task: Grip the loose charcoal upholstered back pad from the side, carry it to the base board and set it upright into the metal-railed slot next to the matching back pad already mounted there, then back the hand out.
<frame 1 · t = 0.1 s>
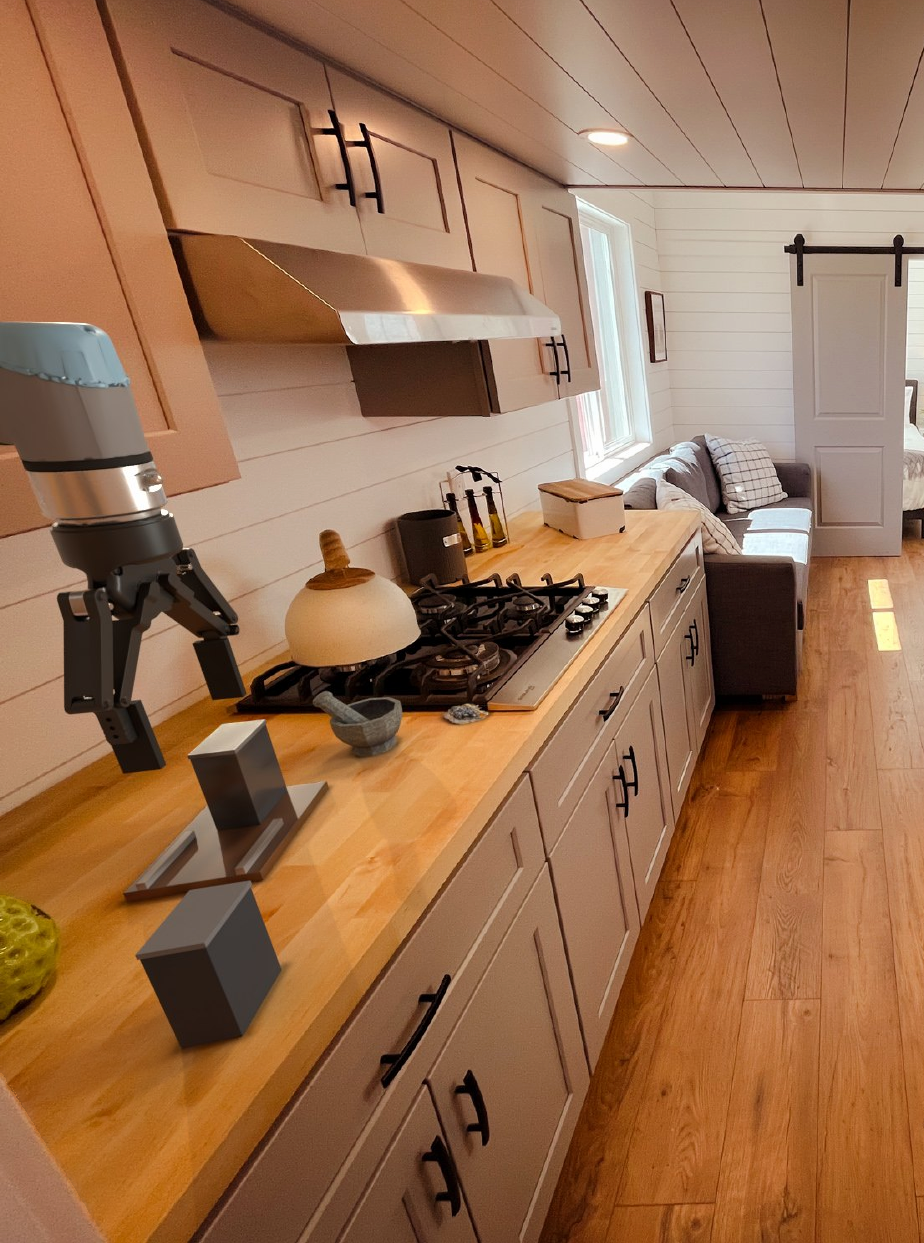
hand: (191, 730, 67), 29 cm above the table, tool pointing down, fingers open, 13 cm apart
pad base: (239, 839, 94), on the table
loose pad: (234, 1007, 71), on the table
mortar and pestle: (371, 749, 116), on the table
blueberries: (468, 716, 126), on the table
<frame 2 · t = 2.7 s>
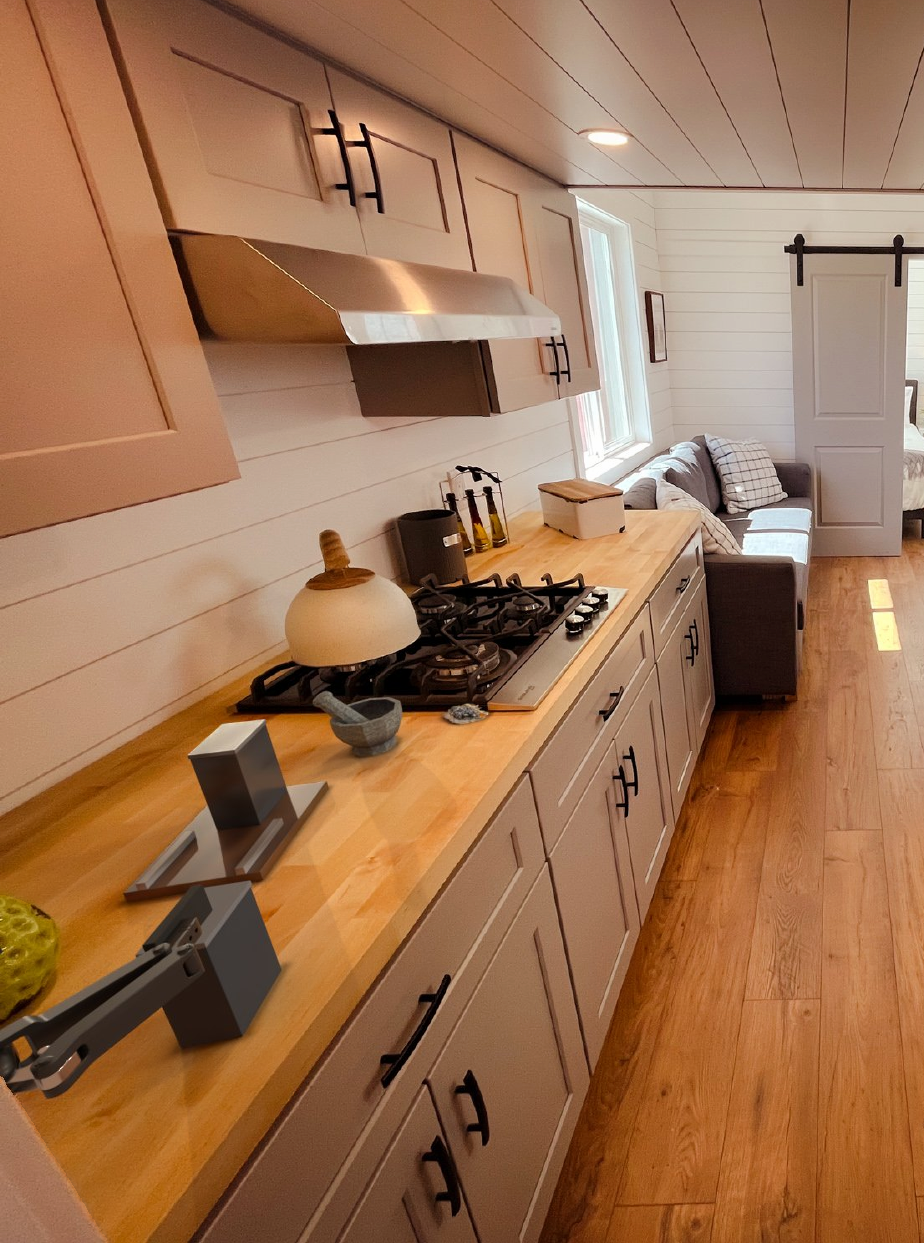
hand: (99, 917, 56), 20 cm above the table, tool horizontal, fingers open, 13 cm apart
nothing on the table moved.
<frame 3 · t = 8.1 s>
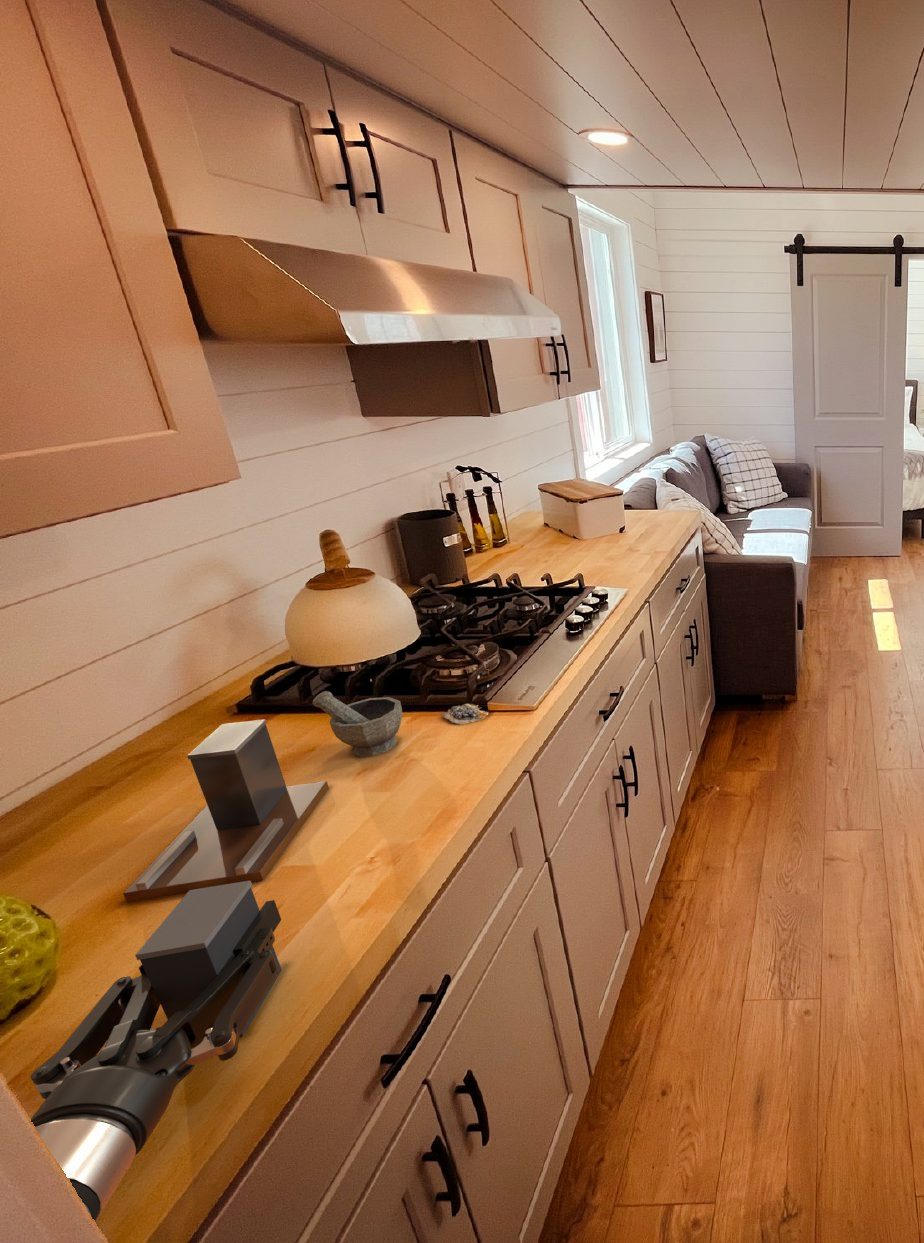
hand: (241, 916, 73), 7 cm above the table, tool horizontal, fingers closed on loose pad, 5 cm apart
loose pad: (234, 1007, 71), on the table, touching gripper
everything else where it was.
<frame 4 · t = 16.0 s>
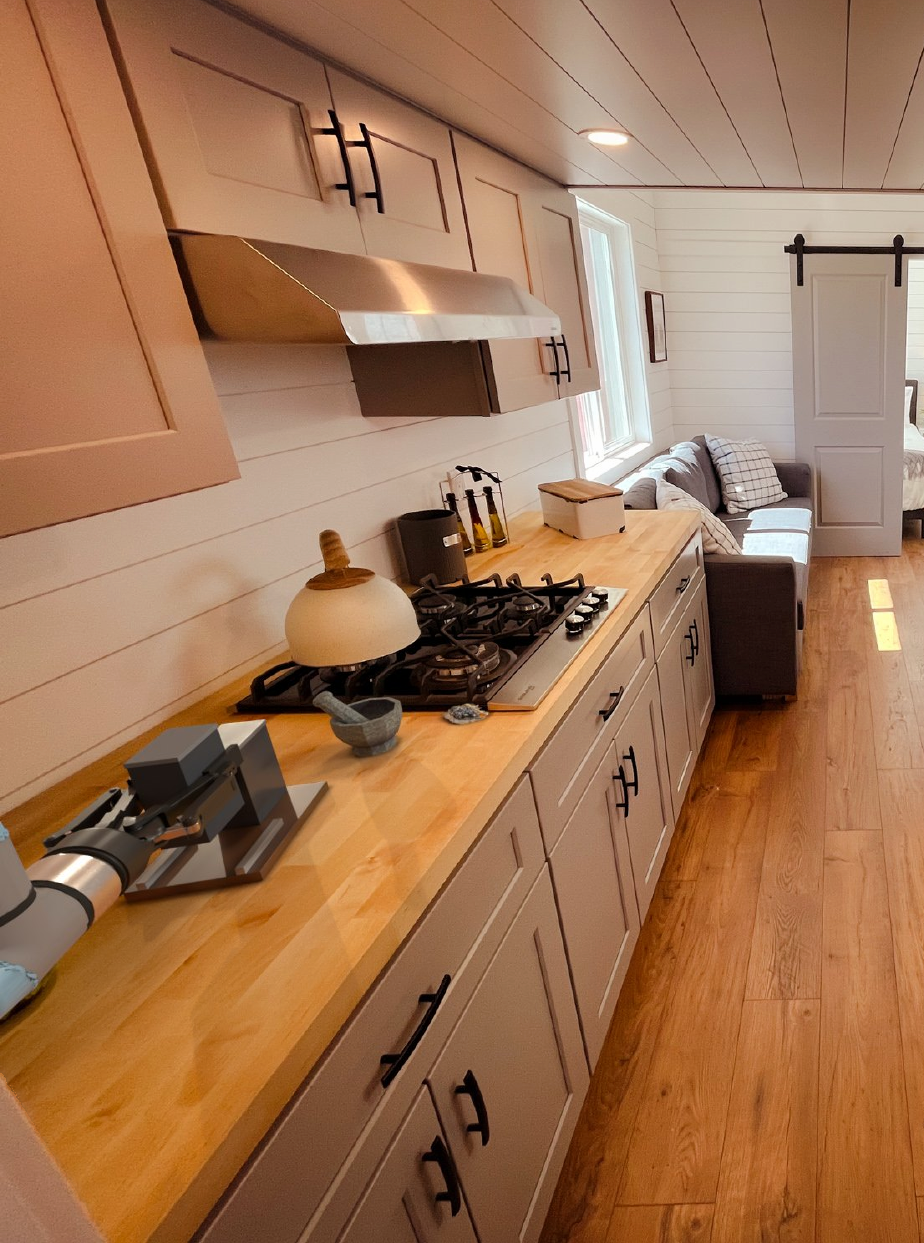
hand: (210, 756, 90), 13 cm above the table, tool horizontal, fingers closed on loose pad, 5 cm apart
loose pad: (204, 825, 88), point 6 cm above the table, touching gripper
everything else where it was.
when the fingers open (8 cm above the table, at t = 17.7 s): loose pad stays where it is, resting on pad base.
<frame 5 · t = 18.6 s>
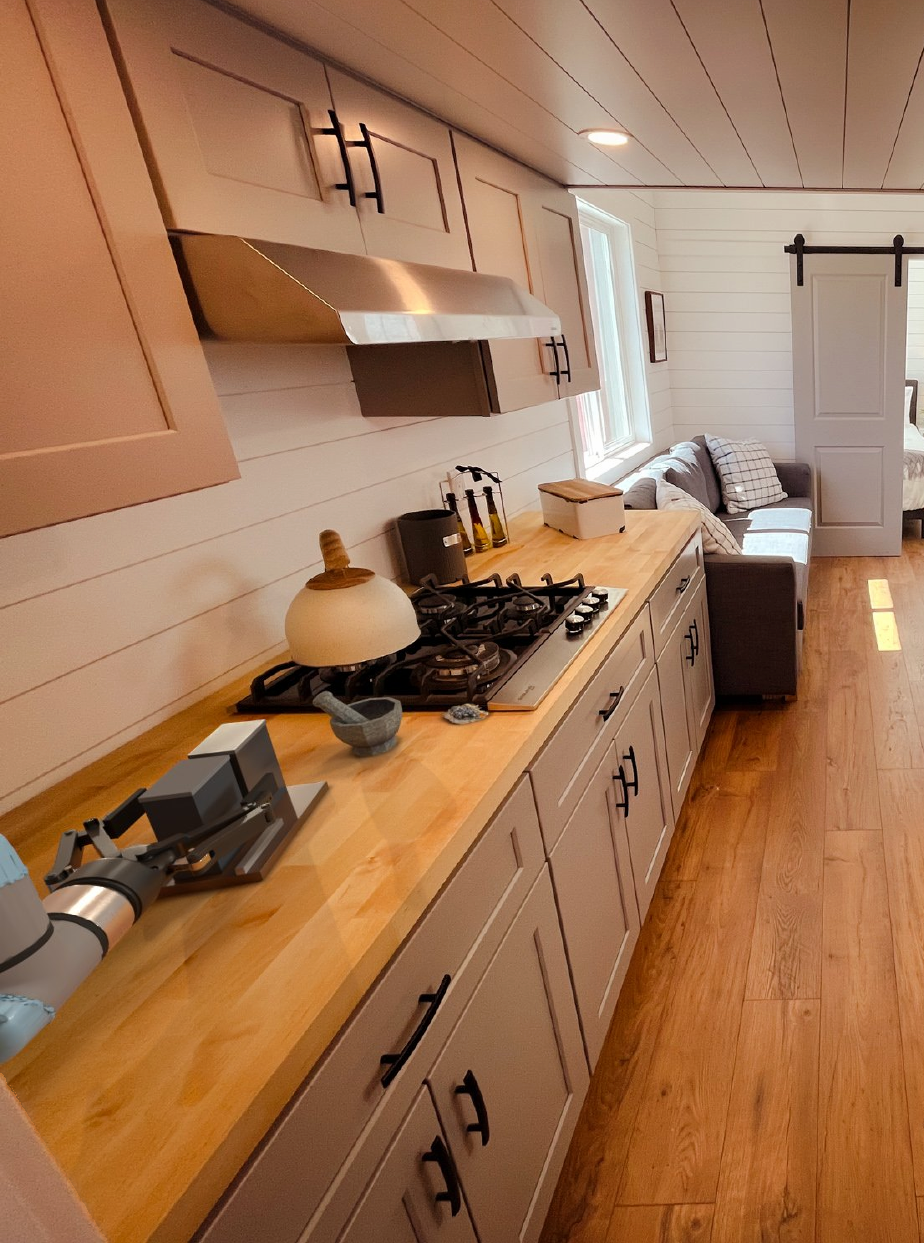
hand: (210, 788, 89), 9 cm above the table, tool horizontal, fingers open, 13 cm apart
loose pad: (216, 855, 89), point 1 cm above the table, touching pad base
everything else where it was.
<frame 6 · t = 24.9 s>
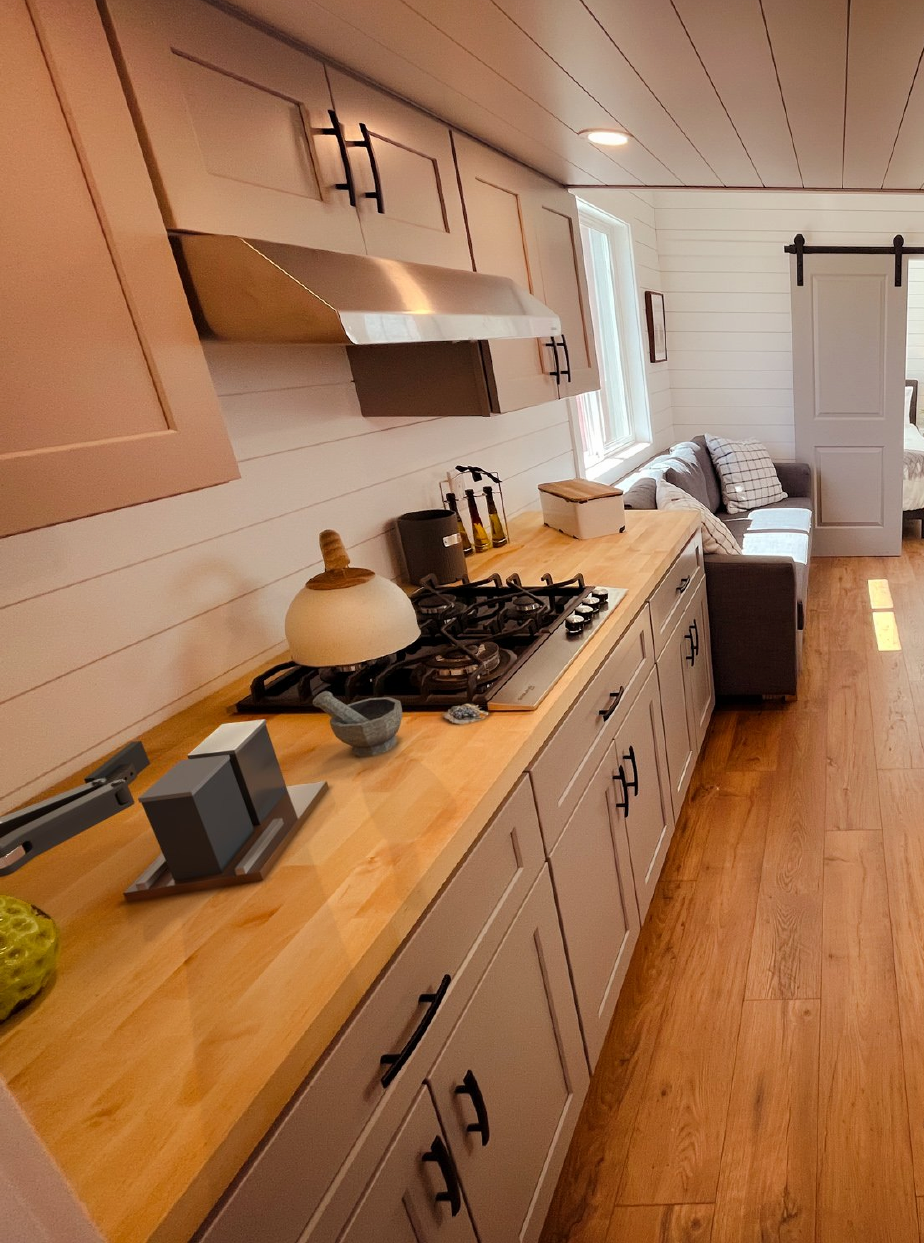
hand: (56, 762, 68), 25 cm above the table, tool horizontal, fingers open, 13 cm apart
nothing on the table moved.
at the end: loose pad 0.1 cm from the target spot on the pad base, point 1.5 cm above the pad base's base; loose pad tilted 0°; the gripper is holding nothing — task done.
